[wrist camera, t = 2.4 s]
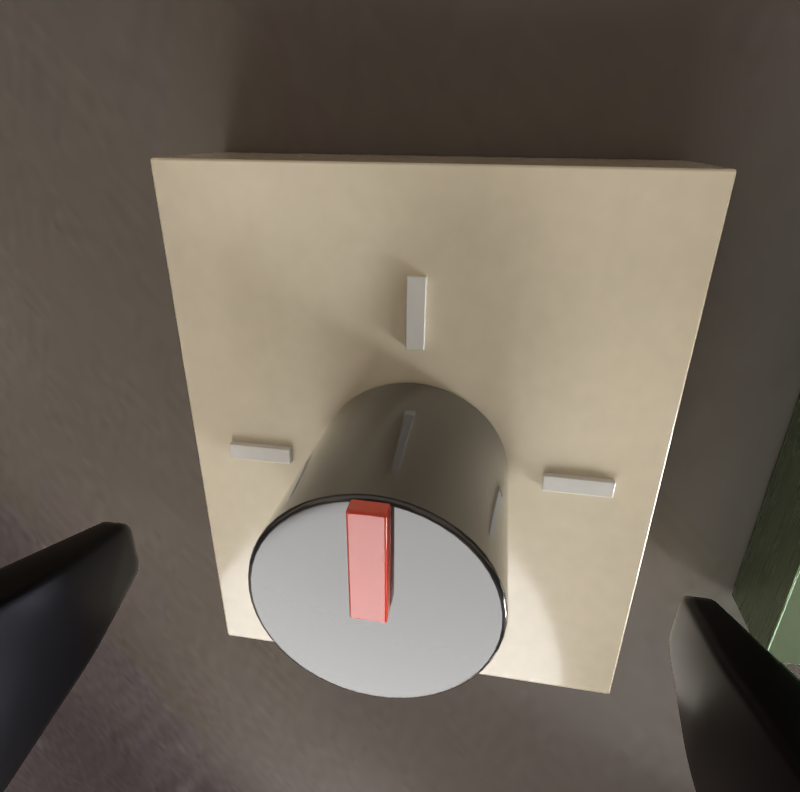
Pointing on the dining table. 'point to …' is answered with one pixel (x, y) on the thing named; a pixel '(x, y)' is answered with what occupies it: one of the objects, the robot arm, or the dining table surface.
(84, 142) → the dining table surface
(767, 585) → the green button base
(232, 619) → the cream dial base plate
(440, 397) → the knob
